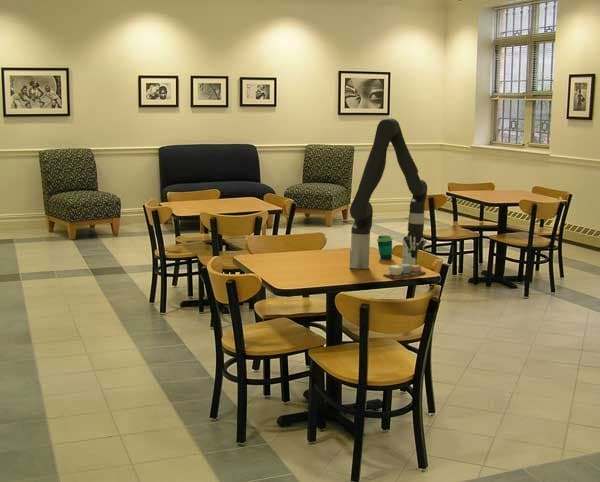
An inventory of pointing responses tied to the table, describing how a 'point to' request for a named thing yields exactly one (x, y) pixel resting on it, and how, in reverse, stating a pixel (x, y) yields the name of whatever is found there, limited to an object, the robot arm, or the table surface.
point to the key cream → (395, 270)
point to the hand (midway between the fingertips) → (413, 257)
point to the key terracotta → (415, 268)
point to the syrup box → (407, 255)
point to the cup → (385, 247)
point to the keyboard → (404, 275)
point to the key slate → (406, 268)
